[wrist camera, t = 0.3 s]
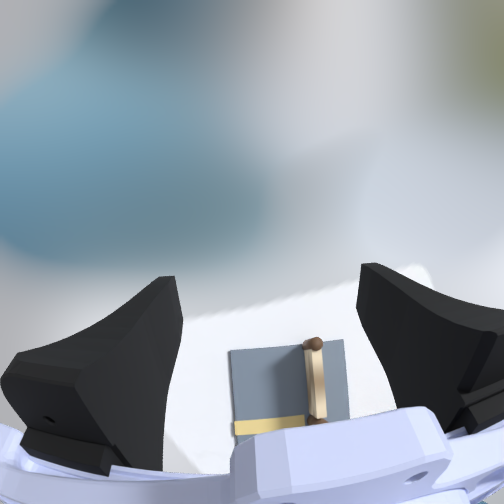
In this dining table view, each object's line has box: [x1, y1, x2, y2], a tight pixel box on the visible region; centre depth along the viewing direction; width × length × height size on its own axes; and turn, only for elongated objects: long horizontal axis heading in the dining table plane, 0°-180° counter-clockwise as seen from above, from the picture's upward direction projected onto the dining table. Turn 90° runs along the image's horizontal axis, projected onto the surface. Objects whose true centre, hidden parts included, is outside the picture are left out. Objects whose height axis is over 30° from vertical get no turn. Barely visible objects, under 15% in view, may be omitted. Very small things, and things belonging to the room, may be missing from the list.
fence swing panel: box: [302, 337, 327, 419], centre depth 35 cm, size 10×2×5 cm, turn 4°
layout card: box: [230, 339, 350, 445], centre depth 36 cm, size 19×15×1 cm
